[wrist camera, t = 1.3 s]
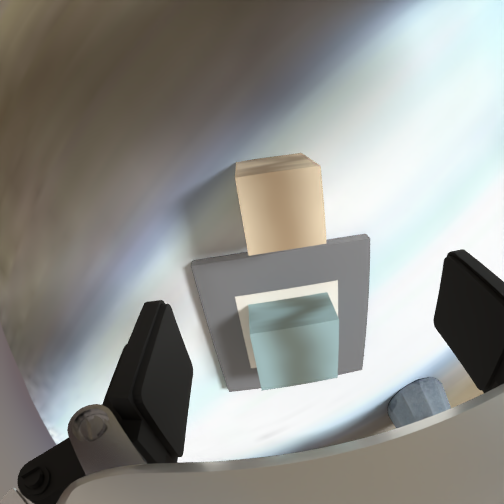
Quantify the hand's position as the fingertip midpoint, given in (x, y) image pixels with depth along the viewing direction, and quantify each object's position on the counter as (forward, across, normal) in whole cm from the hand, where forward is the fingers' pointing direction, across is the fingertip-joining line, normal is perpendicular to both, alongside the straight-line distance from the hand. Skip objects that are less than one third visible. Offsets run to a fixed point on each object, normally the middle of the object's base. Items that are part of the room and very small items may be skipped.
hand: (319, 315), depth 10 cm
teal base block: (+15, 0, +13) cm, 20 cm away
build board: (+16, 0, +13) cm, 20 cm away
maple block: (+16, 0, 0) cm, 16 cm away
